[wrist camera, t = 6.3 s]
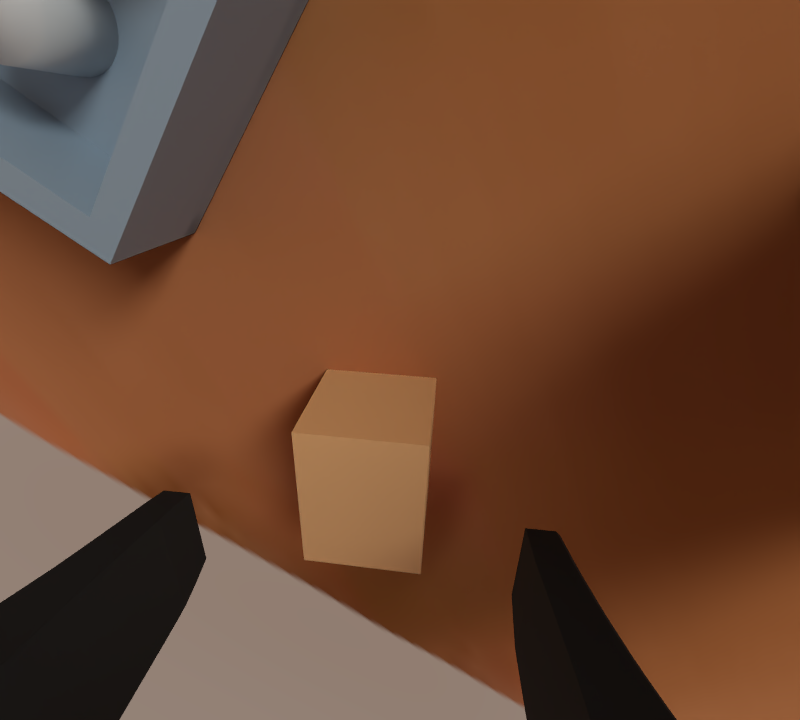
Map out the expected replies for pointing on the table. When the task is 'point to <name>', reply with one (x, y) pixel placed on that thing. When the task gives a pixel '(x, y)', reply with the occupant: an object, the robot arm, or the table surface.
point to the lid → (365, 469)
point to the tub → (130, 110)
